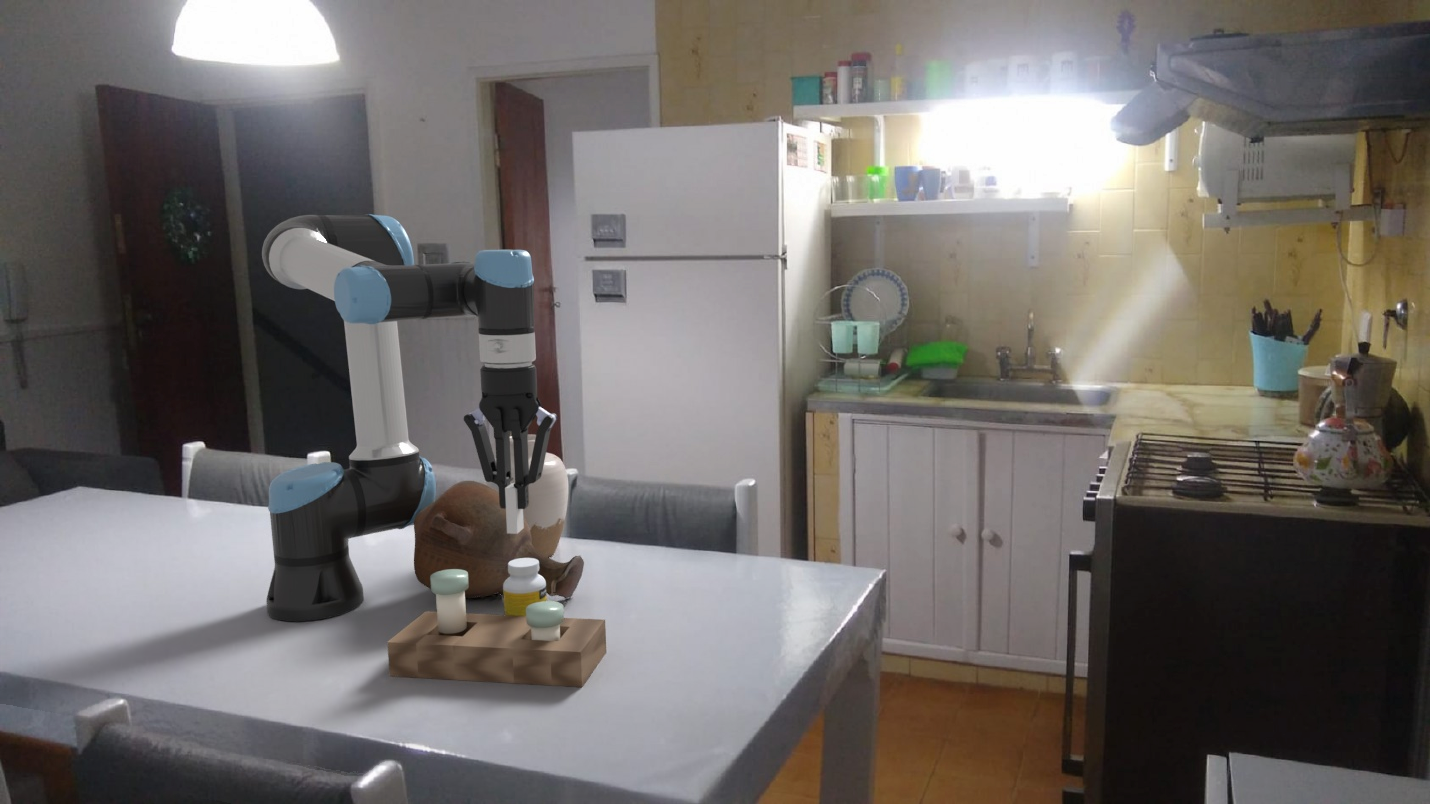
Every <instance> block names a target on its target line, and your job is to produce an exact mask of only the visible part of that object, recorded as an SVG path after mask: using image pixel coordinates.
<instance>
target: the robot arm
mask: <svg viewBox="0 0 1430 804" xmlns="http://www.w3.org/2000/svg"><path fill="white" fill-rule="evenodd" d="M410 240H411V239H410V237H409V236H408V233H407V231H406V230H405V228H404V227H403V225H402V224H401V223H400V222H399V221H398V220H397V219H395V218H394V217H392V216H389V215H380V214H371V213H367V214H331V215H330V214H329V215H327V214H325V215H324V214H322V215H320V214H319V215H318V214H305V215H298V216H294V217H290V218H288V219H286V220H284V221H282V222H280V223H279V224H277V225H275V227H274V228H272V229H271V230H270V231H269V232H268V234H267V236H266V238H265V239H264V241H263V245H262V249H261V256H262V257H261V258H262V262H263V266H264V267H265V269H266V272H267V273H268V274H269V275H270V276H271V277H272V278H273V279H274V280H276V281H277V282H278V283H280V284H282V285H284V286H286V287H287V288H290V289H291V288H292V289H295V290H306V289H308V290H310V291H312V292H314V293H316V294H318V295H320V296H323V297H325V298H326V299H330V300H332V301H334V303H335V307H336V311H337V313H339V314H340V317H341V318H342V320H343V324H344V333H345V343H346V344H345V345H346V352H347V353H346V354H347V362H348V363H347V364H348V369H349V370H348V372H349V382H350V392H351V399H352V400H351V401H352V411H353V418H354V419H353V421H354V429H355V437H356V438H355V439H356V447H355V449H354V450H353V451H352V452H351V453H350V455H348V463H349V468H347V469H344V468H343V466H342V465H341V464H340V463H339V462H338V463H337V462H332V461H331V462H330V461H329V462H328V461H326V462H321V463H310V464H306V465H301V466H298V467H294V468H291V469H288V470H286V471H284V472H281V473H280V474H278V475H276V477H275V478H273V479H272V481H271V482H270V484H269V486H268V512H269V516H270V525H271V526H270V527H271V537H272V538H271V539H272V540H271V541H272V548H273V549H272V550H273V558H274V559H273V561H274V569H273V573H272V576H271V579H270V580H271V581H270V583H269V584H270V585H269V588H268V591H267V597H266V601H265V602H266V611H267V615H268V616H270V618H272V619H275V620H280V621H285V622H309V621H315V620H316V621H317V620H323V619H327V618H332V617H336V616H340V615H342V614H345V613H348V612H350V611H352V610H355V609H357V608H358V607H360V606H361V604H363V602H364V588H363V584H362V582H361V579H360V578H359V575H358V573H357V571H356V569H355V567H354V564H353V562H352V559H351V557H350V550H349V549H350V548H349V539H352V538H358V537H363V536H367V535H372V534H377V533H381V532H387V531H392V530H403V529H405V528H407V527H410V526H414V520H415V517H416V515H417V514H418V513H419V512H420V511H421V510H423V509H424V508H426V507H428V506H429V505H431V504H432V503H433V502H434V501H436V491H437V490H436V489H437V488H436V486H437V485H436V476H435V473H434V471H433V466H432V464H431V463H430V462H429V461H428V460H427V458H425V457H422V456H420V449H419V448H418V447H417V446H416V445H414V444H413V443H412V442H411V441H410V440H409V429H408V420H407V409H406V399H405V389H404V379H403V368H402V361H401V359H402V358H401V357H402V356H401V350H400V348H401V347H400V338H399V330H398V329H399V328H398V322H401V321H402V322H403V321H417V320H432V319H446V318H448V319H449V318H462V317H474V318H477V324H478V326H477V327H478V331H477V332H478V344H479V345H478V347H479V361H480V362H481V363H482V364H484V365H482V366H481V368H480V371H479V372H480V391H481V398H480V401H479V403H478V408H476V409H475V410H473V411H471V412H469V413H468V414H465V415H464V416H463V421H464V423H465V424H466V426H467V427H468V429H469V430H470V432H471V436H472V439H473V442H474V445H475V450H476V453H477V457H478V460H479V463H480V468H481V470H482V471H481V472H482V474H483V477H484V478H483V479H484V480H486V481H487V482H493V483H495V484H497V485H498V487H499V505H500V507H501V508H504V509H506V520H507V533H511V534H518V533H519V532H520V531H521V530H522V529H523V528H524V522H523V509H525V508H527V507H528V505H529V489H528V486H529V484H531V483H534V482H536V481H537V480H538V479H540V478H541V475H542V470H543V465H544V461H545V456H546V452H547V451H548V447H549V446H548V445H549V439H550V436H551V435H550V434H551V430H552V428H553V427H554V425H555V423H556V421H557V420H558V415H557V414H556V413H554V412H551V413H550V412H549V411H547V410H546V409H544V408H542V402H541V401H540V399H539V396H538V377H537V376H538V375H537V366H536V365H535V364H534V363H533V362H534V361H536V359H537V355H536V354H537V352H536V350H537V349H536V334H535V333H536V332H535V295H534V294H535V293H534V291H535V289H534V288H535V286H534V282H535V278H534V275H533V267H532V266H533V265H532V264H533V263H532V257H531V254H530V253H529V252H528V251H527V250H526V249H524V250H523V249H484V250H479V251H478V252H477V253H476V255H475V258H474V260H475V261H474V262H470V261H465V260H464V261H453V262H450V263H433V264H432V263H431V264H430V263H429V264H428V263H427V264H415V258H414V253H413V247H412V244H411V241H410ZM536 417H537V421H536V424H537V425H538V429H537V430H536V434H535V435H536V439H535V444H534V449H533V454H532V459H531V464H530V469H529V462H528V439H527V436H528V434H529V427H530V425H531V424H532V422H533V421H534V419H536ZM485 420H487V421H488V423H489V424H490V425H491V426H492V428H493V429H492V430H493V439H494V440H495V455H494V451H493V447H492V444H491V440H490V438H489V432H488V429H487V426H486V425H485ZM511 436H512V439H513V446H514V467H515V483H511V484H510V482H511V481H512V480H513V477H512V478H511V456H510V437H511ZM495 458H496V461H495Z"/></svg>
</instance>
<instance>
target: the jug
mask: <svg viewBox="0 0 1430 804" xmlns="http://www.w3.org/2000/svg"><path fill="white" fill-rule="evenodd" d="M523 522H524V528H523V529H522V530H521V531H520V532H519V533H518V534H511V533H507V520H506V509H504V508H501V507H500V505H499V493H498V492H497V491H496V490H494V489H492V488H490V487H488V486H487V485H484V483H481V482H478V481H474V480H462V481H459V482H457V483H454V484H453V485H452V486H450V487H449V488H448V489H447V490H446V491H444V492H443V493H441V494H440V496H439V497H438V498H437V499H435V501H434V502H433V503H432V504H431V505H429V506H428V507H426V508H424V509H423V510H421V511H420V512H419V513H418V514H417V515H416V517H415V520H414V525H413V530H414V550H413V570H414V574H415V577H416V579H417V580H418V581H419V582H420V584H422V585H423V586H424V587H425V588H428V589H430V590H431V579H430V576H431V575H432V574H433V573H435V572H438V571H442V570H449V569H460V570H465V571H467V572H468V583H469V588H468V589H467V590H465V599H466V598H467V599H469V598H470V599H474V598H484V597H489V596H493V595H496V594H499V595H500V596H502V597H504V593H503V584H504V582H505V580H506V579H507V578H509V577H510V574H509V573H508V563H509V562H510V561H512V560H514V559H519V558H534V559H537V560H538V561H539V571H538V574H539V575H541V576H542V577H543V578H544V579H545V581H546V595H549V596H550V597H555V596H558V597H562V598H565V599H570V598H572V596H573V595H574V592H575V591H576V589H577V588H578V587H577V586H578V585H579V582H580V580H581V578H582V575H583V572H584V565H585V561H584V559H583V557H582V555H575V556H573V557H572V558H570V560H569V561H565V562H559V561H557V560H554V559H552V558H550V557H546V556H545V555H543V554H541V553H540V552H538V551H537V550H536V549H535V548H534V546H533V545H532V539H531V533H530V529H529V526H528V524H527V522H526V520H525V518H524V517H523Z"/></svg>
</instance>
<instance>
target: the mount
mask: <svg viewBox="0 0 1430 804" xmlns="http://www.w3.org/2000/svg"><path fill="white" fill-rule="evenodd" d="M466 622H467V628H466V629H465V630H464V631H461V632H458V633H452V634H445V633H441V632H439V631H438V620H437V611H424V612H423V613H422V614H420V615H419V616H418V617H417V618H415V619H414V620H413V621H412V622H411V623H409V624H408V625H407V626H405V627H404V628H403V629H402V630H401V631H399V632H398V633H397V634H395V635H394V636H393V637H392V638H390V639H389V640H388V641H387V642H386V643H387V644H386V645H387V655H388V656H387V657H388V671H389V677H397V678H398V677H401V678H415V679H416V678H418V679H434V680H435V679H437V680H451V681H452V680H454V681H470V682H471V681H472V682H474V681H475V682H485V683H486V682H488V683H505V684H506V683H507V684H519V685H538V686H541V685H543V686H557V687H575V688H583V686H585V684H586V683H587V681H588V679H589V678H590V676H591V675H592V674H593V672H594V671H595V670H596V668H597V667H598V665H599V664H600V662H601V661H602V660H603V658H604V657H605V655H606V654H607V634H606V633H607V632H606V630H607V629H606V619H599V618H598V619H597V618H596V619H595V618H575V617H564V621H563V622H562V623H561V624H560V639H559V641H544V640H532V636H531V626H529V625H527V623H526V616H513V615H505V614H492V613H491V614H488V613H487V614H485V613H467V612H466Z"/></svg>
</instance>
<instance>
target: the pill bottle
mask: <svg viewBox="0 0 1430 804" xmlns="http://www.w3.org/2000/svg"><path fill="white" fill-rule="evenodd" d="M538 571H539V561H538V560H537V559H534V558H519V559H514V560H512V561H510V562H509V563H508V573H509V574H510V577H509V578H507V579H506V580H505V582H504V584H503V593H504V596H503V606H504V607H503V608H504V610H503V611H504V615H513V616H526V607H527V606H529V605H530V604H533V603H536V602H542V601H548V599H547V597H548V596H547V595H548V594H547V593H546V581H545V579H544V578H543V577H542V576H541V575H539V574H538Z"/></svg>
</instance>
